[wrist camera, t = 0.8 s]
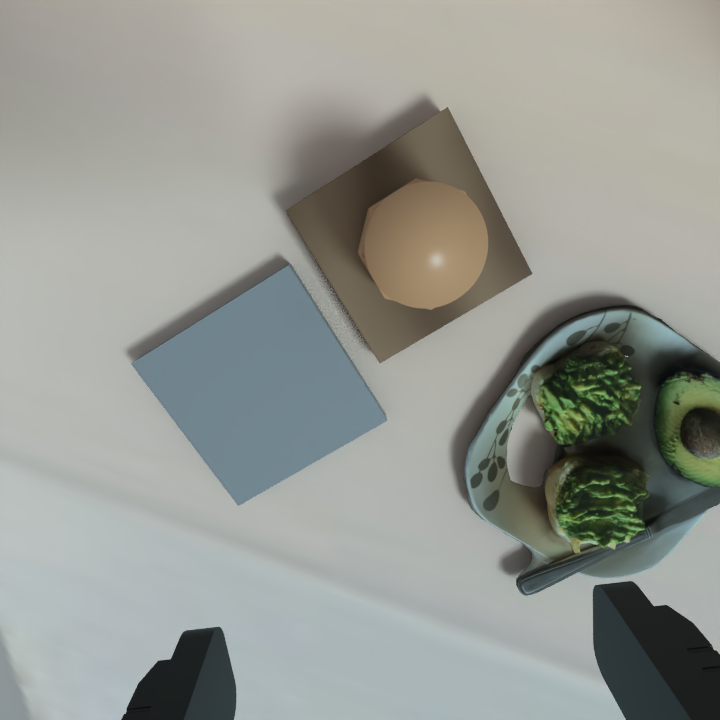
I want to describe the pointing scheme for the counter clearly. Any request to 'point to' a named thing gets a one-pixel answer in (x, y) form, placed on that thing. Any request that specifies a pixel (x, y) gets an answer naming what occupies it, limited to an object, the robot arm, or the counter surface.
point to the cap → (424, 244)
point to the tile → (261, 386)
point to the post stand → (369, 186)
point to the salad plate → (604, 448)
